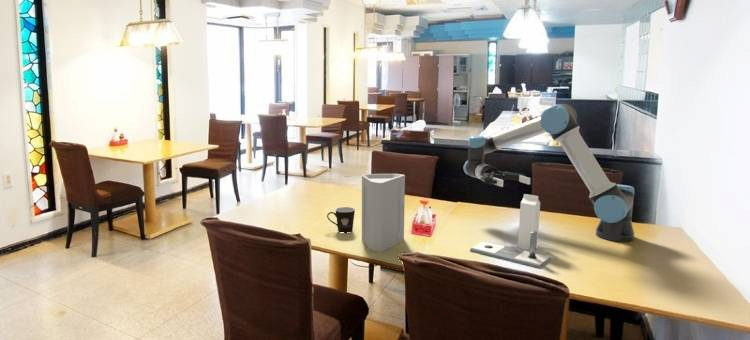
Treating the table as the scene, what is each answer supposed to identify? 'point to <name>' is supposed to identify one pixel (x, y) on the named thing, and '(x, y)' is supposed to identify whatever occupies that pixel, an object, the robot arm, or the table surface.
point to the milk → (528, 220)
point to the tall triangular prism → (382, 210)
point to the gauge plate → (510, 254)
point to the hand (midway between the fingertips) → (516, 182)
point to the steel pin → (533, 244)
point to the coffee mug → (344, 219)
